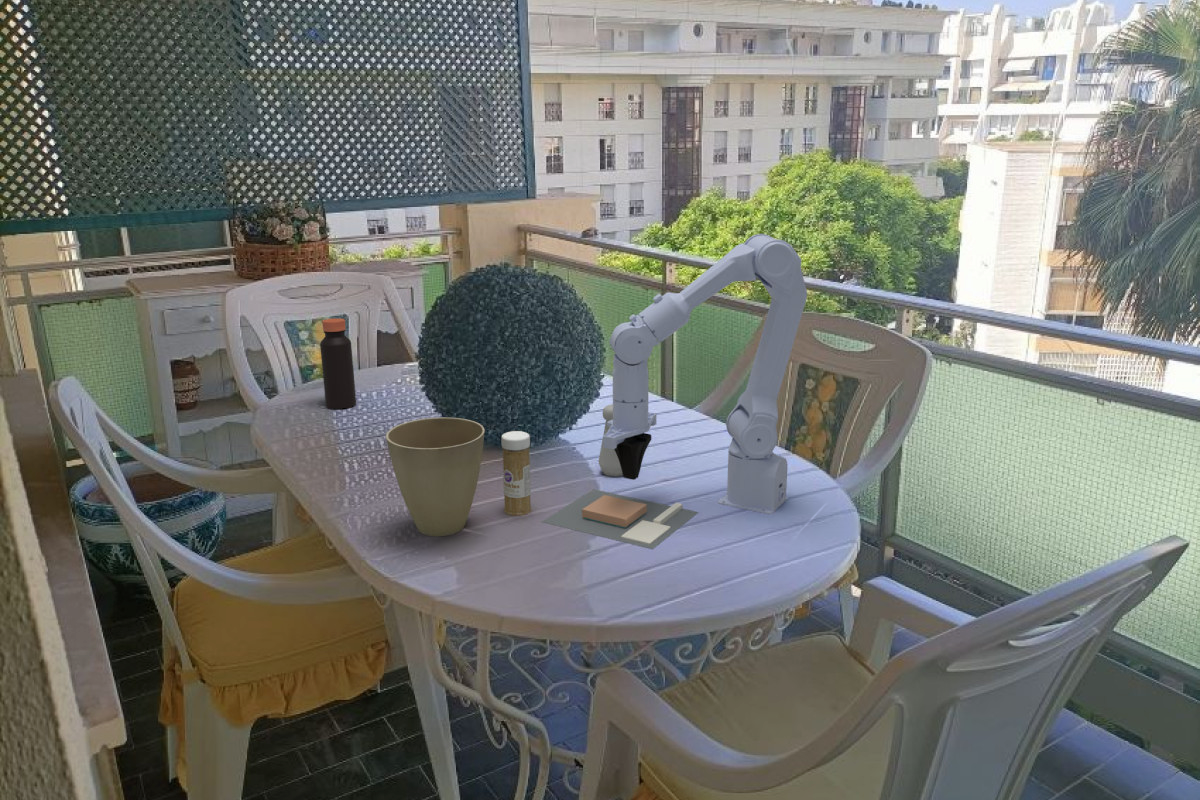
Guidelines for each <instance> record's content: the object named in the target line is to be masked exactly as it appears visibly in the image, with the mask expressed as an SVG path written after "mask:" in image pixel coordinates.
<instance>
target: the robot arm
mask: <svg viewBox="0 0 1200 800" xmlns="http://www.w3.org/2000/svg"><path fill="white" fill-rule="evenodd" d="M801 266H802V258H801V257H800V256H799V254H798V253H797V252H796V250H795V249H794V248H793V246H792V245H791V244H790V243H788V242H787V241H785V240H782V239H777V238H775V237H773V236H770V235H768V234H765V233H757V234H753V235H752V236H750V237H748V238H747V239H746V241H745V242H744V243H742V242H741V243H739V244H738V245H736V246H735V247H733V248H732V249H731V250H729V252H727V253H726V254H725V255H723V257H721V258H720V259H719V260H717V262H715V263H714V264H713V265H712V266H711V267H709V268H708V269H706V271H704V272H703V273H702V274H700V276H698V277H697V278H696V279H695V280H694V281H692V282H691V283H690V284H688V285H687V286H686V287H685V288H684V289H683V290H681V291H680V292H679V293H678V292H677V293H675V292H666V293H665V294H663V295H662V294H661V293H658V294H656V295H655V296H654V297H653V299H652V300H653V301H654V302H652V303H651V304H650V305H648V306H647V307H646V308H644V309H643V310H641V311H640V312H639V313H638V314H632V315H630V316H629V321H627V322H621V323H620V324H618V325H617V326H616V327H615V328H614V329H613V331H612V333H611V335H610V338H609V340H608V341H609V346H610V348H611V349H612V351H613V353H614V354H613V359H612V365H613V369H612V405H613V420H610V421H608V422H607V426H608V427H610V428H609V430H608V432H607V433H606V434H605V435H604V436H603V435H602V440H603V447H604V448H609V449H614V450H615V452H616V454H617V456H618V459H619V462H620V466H621V470H622V473H623V475H622V476H623V479H628V480H633V481H634V480H636V479H638V478H639V476H640V472H641V467H642V464H643V463H642V462H643V459H644V456H645V453H646V450H647V449H648V446H649V444H650V443H651V441H652V434H650V433H647V432H649V431H650V429H651V427H654V426H656V425H657V413H656V412H655V413H654V412H650V411H649V369H648V359H649V358H650V356H651V355H652V352H653V348H654V347H656V346H659V345H660V344H661V343H662V342H663V341H665V340H667V338H669V337H670V336H671V335H673V334H674V333H676V332H677V331H678V330H680V329H682V328H683V327H684V326H686V324H687V323H688V324H689V322H690V317H691V314H692V311H693V310H694V309H695V308H697V307H698V306H700V305H701V304H702V303H704V302H706V301H707V300H708V299H709V298H711V297H713V296H714V295H716V294H718V293H719V292H720V291H722V290H723V289H725V288H726V287H727V286H729V285H730V284H732V283H735V282H750V281H751V282H752V281H753V282H754V281H757V278H758V279H759V280H760V281H761V283H762V285H763V286H764V288H765V289H766V291H767V293H768V294H769V296H770V297H771V301H770V304H769V308H768V310H767V315H766V319H765V320H764V321H765V322H764V324H763V329H762V333H761V337H760V340H759V343H758V345H757V346H758V347H757V350H756V354H755V356H754V360H753V364H752V367H751V370H750V374H749V378H748V381H747V384H746V388H745V390H744V392H743V393H741V395H740V396H739V397H738V399H737V403H736V405H735V407H734V408H733V409H732V410H731V412H730V413H729V414H728V416H727V418H726V424H725V426H726V427H725V428H726V430H727V433H728V434H729V436H730V437H731V442H730V443H729V446H728V453H727V455H728V458H727V486H726V487H727V488H726V493H725V495H724V496H722V497H721V498H720V499H718V501H717V504H719V505H724V506H729V507H731V508H733V507H734V508H738V509H743V510H747V511H753V512H757V513H762V514H767V515H772V514H773V513H775V511H776V510H778V509H779V508H780V506H782V505H783V504H784V503H785V501H787V500H788V496H787V488H788V487H787V484H788V461H787V459H786V457H783V456H781V455H778V454H776V453H774V450H775V448H776V446H777V445H778V431H777V424H778V420H779V412H778V404H777V403H778V396H779V393H780V390H781V387H782V384H783V380H784V376H785V373H786V371H787V366H788V364H789V363H788V362H789V360H790V356H791V354H792V349H793V347H794V346H793V345H794V342H795V339H796V336H797V332H798V330H799V325H800V322H801V319H802V315H803V312H804V310H805V309H804V308H805V305H806V302H807V296H808V291H807V287H806V283H805V279H804V273H803V271H802V267H801Z"/></svg>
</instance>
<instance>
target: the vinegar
mask: <svg viewBox="0 0 1200 800" xmlns="http://www.w3.org/2000/svg"><path fill="white" fill-rule="evenodd" d="M321 324H322V331H323V334H324V337H323V339H321V341H320V343H319V347H320V348H319V349H320V358H321V369H322V378H323V386H324V387H323V389H324V399H325V400H324V401H325V406H326V408H327V409H330V408H332V409H331V410H344V409H343V408H346V409H350V408H349V407H351V408H353V407H355V406H356V405H357V398H356V397H357V394H356V383H355V374H354V373H355V372H354V363H353V362H354V361H353V351H352V350H353V348H352V341H351V339H349V337H347V335H345V332H346V319H344V318H338V317H337V318H333V317H332V318H326V319H324V320H322V322H321ZM354 405H355V406H354ZM352 406H353V407H352Z"/></svg>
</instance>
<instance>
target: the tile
mask: <svg viewBox="0 0 1200 800" xmlns="http://www.w3.org/2000/svg"><path fill="white" fill-rule="evenodd" d="M646 512H647V504H643V503H638V502H634V501H629V500H625V499H620V498H616V497H611V496H606V495H604V496H602V497H601V498H599V499H598V500H596V501H594V502H593V503H591V504H590V505H588V506H587V507H585V508H583V509H582V517H584V519H588V520H592V521H597V522H601V523H605V524H609V525H613V526H618V527H622V528H626V527H628V526H629V525H630V524H632V523H633V522H635V521H636V520H637V519H639V518H640V517H641V516H643V515H644V514H645V513H646Z"/></svg>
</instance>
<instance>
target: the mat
mask: <svg viewBox="0 0 1200 800" xmlns="http://www.w3.org/2000/svg"><path fill="white" fill-rule="evenodd" d="M604 495H606V496H611V497H616V498H620V499H625V500H629V501H634V502H638V503H643V504H647V512H646V513H645V514H644V515H643V516H641V517H640V518H639V519H637V520H636V521H635V522H633V523H632V524H630V525H629V526H628V527H626V528H622V527H618V526H613V525H609V524H605V523H601V522H597V521H592V520H588V519H584V517H582V509H583V508H585V507H587V506H588V505H590V504H591V503H593V502H594V501H596V500H598V499H599V498H601V497H602V496H604ZM671 506H672V505H667V504H663V503H658V502H655V501H650V500H649V501H648V500H645V499H642V498H641V499H640V498H636V497H633V496H632V497H631V496H627V495H621V494H617V493H613V492H608V491H604V490H599V489H592V490H590V491H589V492H587V493H585V494H583V495H581V497H578V498H577V499H576V500H574V501H572V502H570V503H569V504H568V505H566V506H564V507H563V508H561V509H559V510H558V511H556V512H555V513H553V514H552V515H550V516H548V517H547V518H545V519H544V520H542V521H541V523H544V524H549V525H553V526H557V527H560V528H564V529H567V530H568V529H569V530H572V531H575V532H576V531H577V532H581V533H585V534H588V535H592V536H597V537H601V538H604V539H605V538H606V539H609V540H613V541H616V542H621V543H625V544H629V545H633V546H636V547H641V548H645V549H648V550H649V549H650V550H653V549H655V548H656V547H657V546H659V545H660V544H661V543H663V542H664V541H665V540H667V539H668V538H669V537H670V536H671V535H673V534H674V533H675V532H676V531H677V530H679V529H680V528H681V527H682V526H683V525H685V524H686V523H687V522H689V521H690V520H691V519H692V518H694V517H695V516H696V515H697V514H699V511H695V510H691V509H688V508H687V509H686V508H683V509H681V510H680V511H679V512H677V513H676V514H675V515H674V516H672V517H671V518H670V519H668V520H667V521H666V522H665V523H663V524H662V525H666V526H670V527H671V529H670V530H668V531H667V532H666V533H665V534H663V535H662V536H661V537H660V538H658V539H657V540H656V541H654V542H653V543H652V544H651V545H647V544H643V543H639V542H635V541H631V540H627V539H623V538H621V536H622V535H623V534H625V533H626V532H627V531H629V530H630V529H631V528H633V527H634V526H635V525H637V524H638V523H640V522H641V521H642V520H644V521H649V522H653V520H654V519H655V518H656V517H658V516H659V515H660V514H662V513H663V512H664V511H666V510H667V509H668V508H670V507H671Z"/></svg>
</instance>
